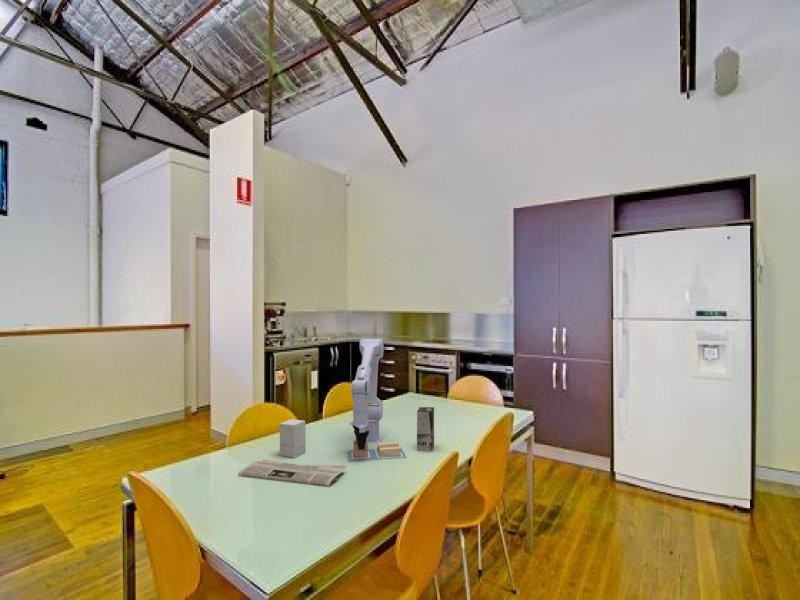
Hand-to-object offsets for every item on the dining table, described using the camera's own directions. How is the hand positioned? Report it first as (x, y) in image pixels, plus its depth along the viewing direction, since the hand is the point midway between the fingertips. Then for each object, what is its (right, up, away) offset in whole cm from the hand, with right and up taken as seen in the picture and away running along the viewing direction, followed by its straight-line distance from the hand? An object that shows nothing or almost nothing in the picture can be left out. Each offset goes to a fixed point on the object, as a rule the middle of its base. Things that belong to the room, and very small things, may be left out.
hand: (360, 446), depth 160 cm
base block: (+11, -4, +2) cm, 12 cm away
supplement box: (-27, -5, +3) cm, 28 cm away
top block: (0, -4, 0) cm, 4 cm away
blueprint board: (+6, -4, +1) cm, 7 cm away
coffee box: (+26, -5, +9) cm, 28 cm away
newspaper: (-22, -5, -17) cm, 28 cm away
